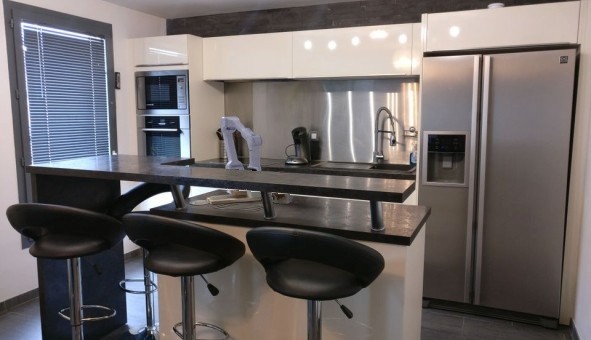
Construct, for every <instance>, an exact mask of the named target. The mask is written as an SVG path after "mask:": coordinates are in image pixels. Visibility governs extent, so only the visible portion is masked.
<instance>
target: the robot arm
mask: <svg viewBox="0 0 591 340" xmlns="http://www.w3.org/2000/svg"><path fill="white" fill-rule="evenodd" d="M219 127H220V131H221V133H222V136H223V142H224V147H225V151H226V155H227V160H228V161H227V163H226V164H225V166H224V167H225V170H226V169H239V170H245V168H244V165H243V162H241V161H239V160H238V159H239V158H238V154H237V150H236V145H235V141H234V135H233V133H235V132H236V131H237V132H240V135H241V137H242V138H243V139H244V140H245V141H246V143H247V146H248V150H249V164H248V165H247V169H250V170H252V171H261V172H262V167H261V146H262V145H263V138H262V136H261V135H260V134H255V132H253V131H252V130H251V128H250V127H245V126H244V124H243V123H242V122H241V120H240V118H239V117H238V116H222V117H221V118H220V120H219ZM225 191H226V193H228V195H232V194H231V190H228V189H227V190H225Z"/></svg>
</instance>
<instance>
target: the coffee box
mask: <svg viewBox="0 0 591 340" xmlns="http://www.w3.org/2000/svg"><path fill="white" fill-rule="evenodd" d="M273 172H280V173H291V174H292V172H291V171H283V170H281V171H280V170H275V171H273ZM271 194H272V195H271V197H273V201H274V203H273V204H286V205H287V204H290V203H291V200H292V199H291V197H292V194H291V195H290V194H278V193H272V192H271Z"/></svg>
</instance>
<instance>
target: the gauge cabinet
mask: <svg viewBox="0 0 591 340" xmlns="http://www.w3.org/2000/svg"><path fill="white" fill-rule="evenodd" d="M246 191H247V190H246ZM247 194H248V196H249V197H251V198H254V197H261V194H260V192H251V191H247Z"/></svg>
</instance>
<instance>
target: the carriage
mask: <svg viewBox="0 0 591 340" xmlns="http://www.w3.org/2000/svg"><path fill="white" fill-rule="evenodd" d="M231 194H232V195H234V198H239V197H247V190H246V191H239V190H231ZM231 194H230V195H231Z"/></svg>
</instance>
